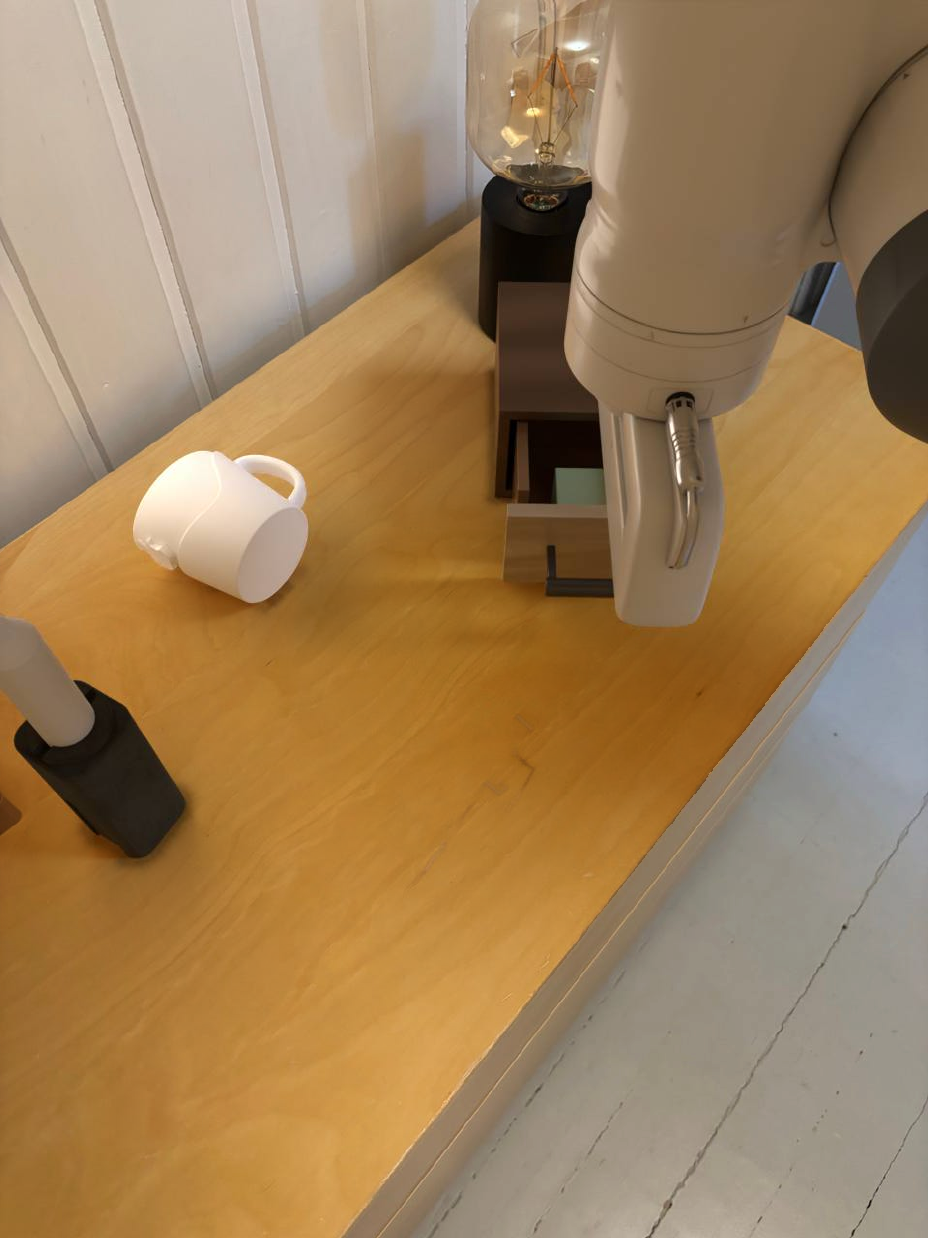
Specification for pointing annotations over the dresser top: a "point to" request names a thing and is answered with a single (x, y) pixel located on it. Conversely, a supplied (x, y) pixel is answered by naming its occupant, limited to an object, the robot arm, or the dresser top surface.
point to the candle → (86, 745)
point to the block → (578, 486)
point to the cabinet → (532, 368)
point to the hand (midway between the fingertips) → (623, 525)
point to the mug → (225, 523)
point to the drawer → (556, 513)
